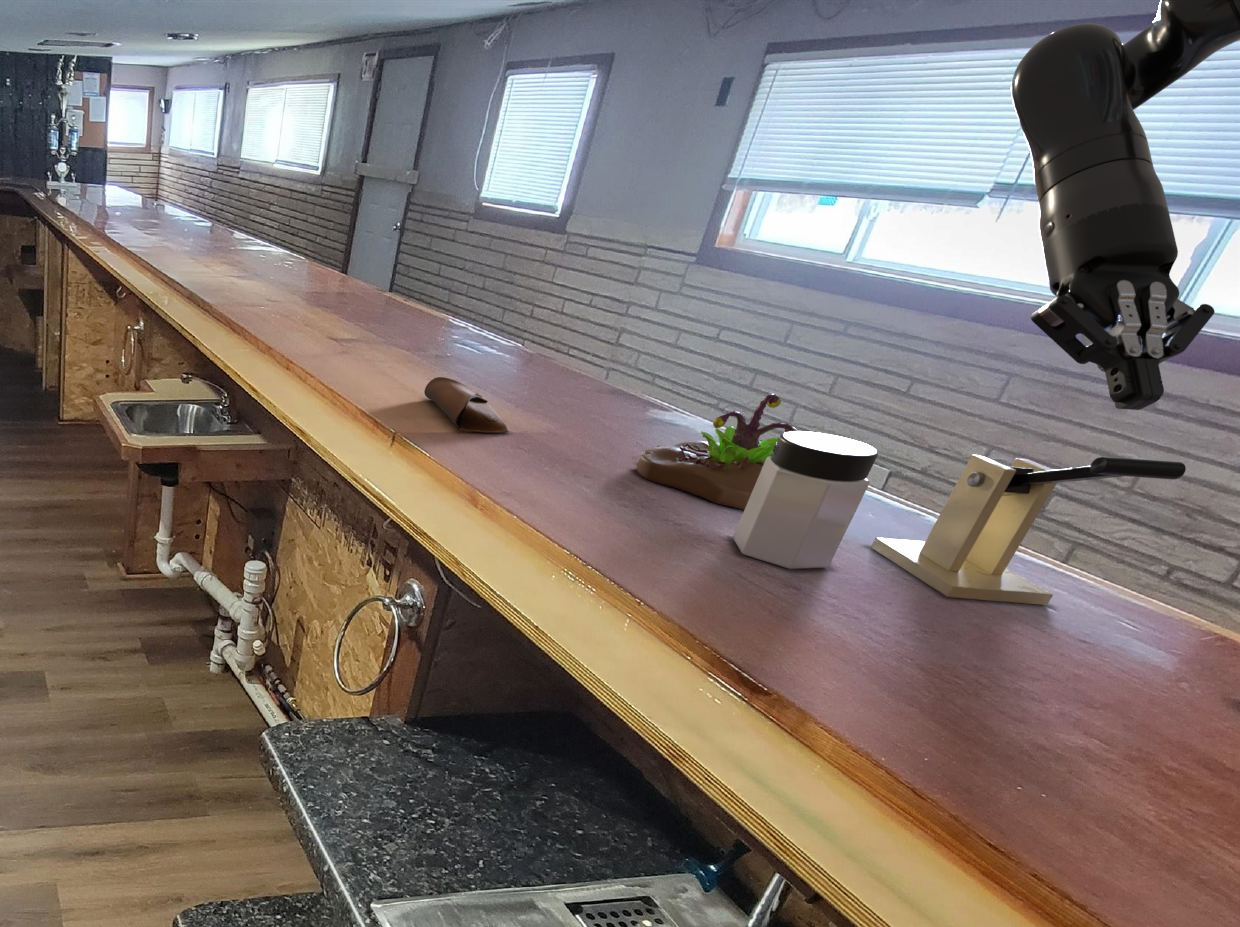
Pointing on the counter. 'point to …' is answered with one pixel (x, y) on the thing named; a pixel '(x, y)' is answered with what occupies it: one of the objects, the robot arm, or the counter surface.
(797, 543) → the jar
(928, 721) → the counter surface
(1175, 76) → the robot arm
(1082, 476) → the lever
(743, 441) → the plant
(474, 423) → the sunglasses case
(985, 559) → the bracket
